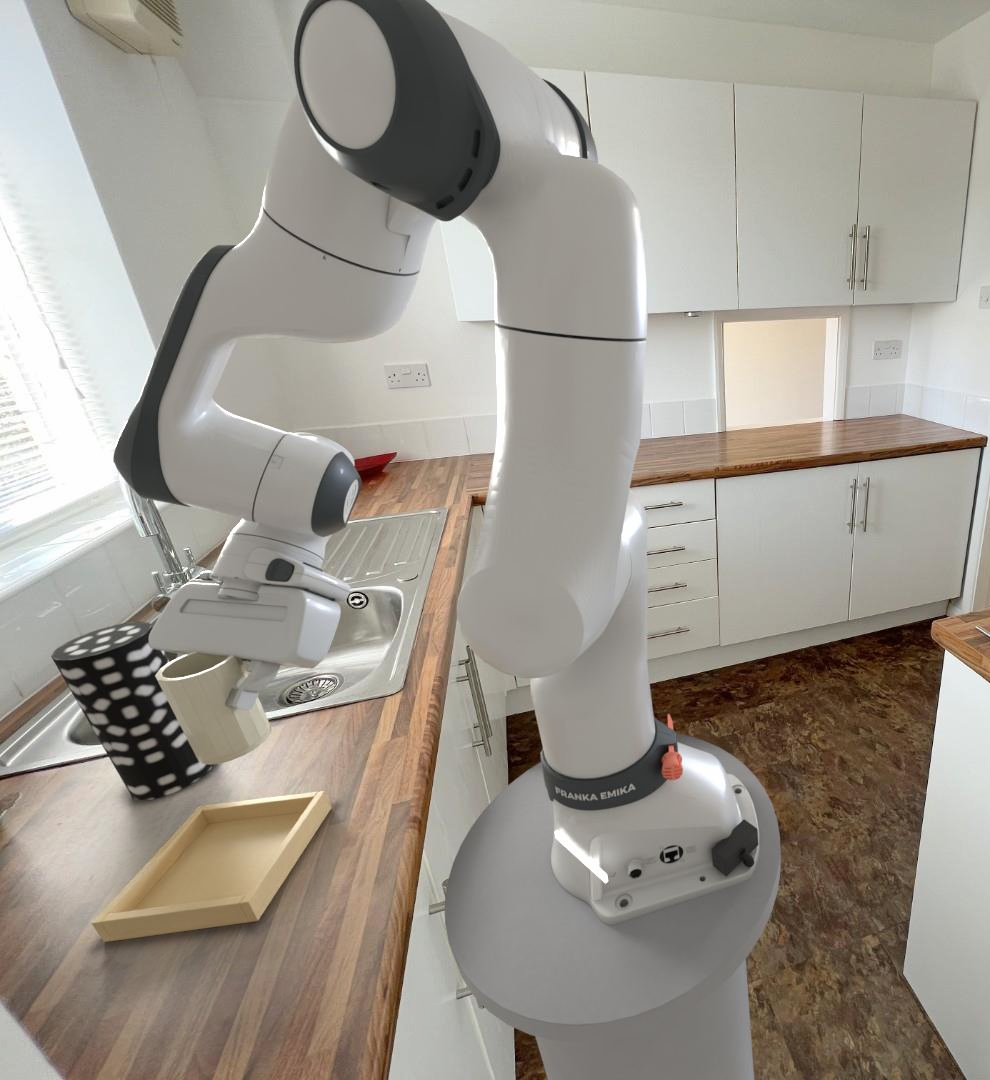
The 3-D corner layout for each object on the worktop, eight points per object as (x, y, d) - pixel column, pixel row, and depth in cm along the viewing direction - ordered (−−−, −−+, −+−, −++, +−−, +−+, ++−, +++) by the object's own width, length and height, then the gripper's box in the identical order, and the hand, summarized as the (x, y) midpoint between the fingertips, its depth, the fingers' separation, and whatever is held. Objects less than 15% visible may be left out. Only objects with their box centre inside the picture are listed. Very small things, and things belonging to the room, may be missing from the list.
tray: (332, 807, 68) (325, 790, 67) (258, 921, 55) (248, 902, 54) (208, 823, 66) (199, 805, 66) (103, 942, 54) (91, 923, 53)
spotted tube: (133, 774, 75) (58, 640, 67) (215, 742, 80) (153, 614, 72) (127, 812, 69) (44, 669, 61) (216, 775, 74) (149, 639, 66)
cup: (284, 720, 64) (250, 642, 60) (247, 760, 58) (208, 676, 55) (224, 727, 64) (187, 648, 60) (181, 768, 58) (137, 684, 54)
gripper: (166, 560, 63) (99, 689, 58) (315, 568, 58) (257, 711, 53) (223, 579, 69) (167, 698, 64) (363, 588, 64) (315, 719, 59)
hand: (209, 704), depth 58 cm, fingers closed on cup, 6 cm apart
